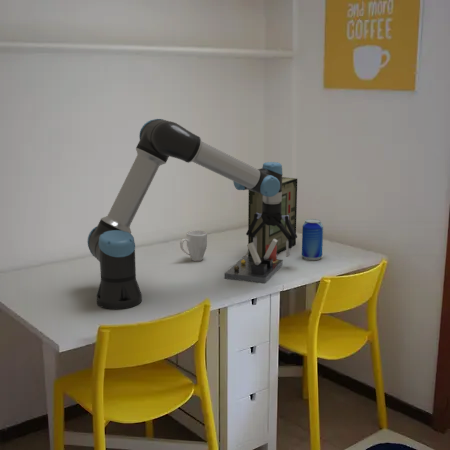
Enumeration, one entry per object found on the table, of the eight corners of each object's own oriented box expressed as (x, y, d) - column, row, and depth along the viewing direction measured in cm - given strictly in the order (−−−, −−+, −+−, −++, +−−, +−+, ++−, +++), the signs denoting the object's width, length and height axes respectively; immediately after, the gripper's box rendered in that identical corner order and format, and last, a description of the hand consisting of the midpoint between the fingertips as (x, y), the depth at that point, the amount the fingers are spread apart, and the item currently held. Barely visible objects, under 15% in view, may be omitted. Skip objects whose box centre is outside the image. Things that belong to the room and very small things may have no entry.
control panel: (264, 261, 257) (265, 189, 250) (248, 258, 261) (248, 187, 254) (295, 244, 282) (297, 178, 275) (280, 242, 286) (282, 177, 278)
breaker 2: (266, 260, 241) (276, 242, 238) (262, 258, 242) (272, 240, 239) (268, 258, 244) (278, 240, 241) (264, 256, 244) (274, 238, 241)
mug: (199, 255, 265) (199, 229, 263) (211, 260, 259) (210, 233, 256) (175, 260, 258) (175, 233, 256) (186, 265, 252) (186, 238, 249)
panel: (265, 283, 231) (265, 270, 230) (224, 278, 236) (224, 265, 235) (282, 264, 253) (282, 252, 252) (244, 260, 258) (245, 248, 257)
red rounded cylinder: (274, 262, 248) (275, 247, 247) (264, 261, 250) (264, 246, 248) (277, 259, 252) (278, 244, 251) (267, 258, 254) (267, 243, 252)
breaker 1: (259, 264, 234) (250, 243, 233) (255, 266, 235) (246, 245, 234) (261, 262, 237) (252, 242, 236) (258, 263, 237) (249, 243, 237)
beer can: (300, 260, 259) (301, 222, 255) (302, 254, 266) (304, 217, 263) (321, 261, 257) (322, 223, 253) (322, 255, 265) (324, 218, 261)
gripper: (305, 202, 244) (304, 254, 249) (244, 198, 253) (244, 248, 258) (301, 206, 238) (299, 260, 243) (238, 201, 246) (238, 253, 251)
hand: (271, 254), depth 250 cm, fingers open, 13 cm apart
